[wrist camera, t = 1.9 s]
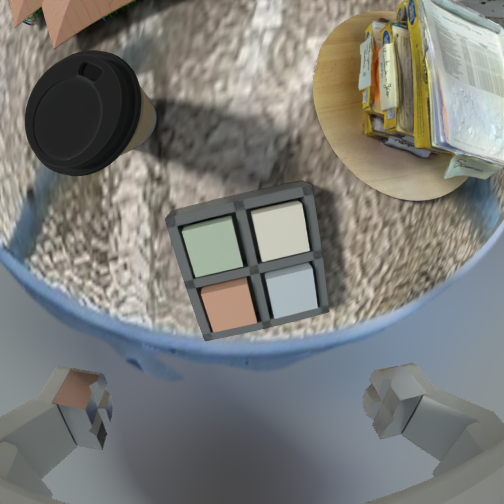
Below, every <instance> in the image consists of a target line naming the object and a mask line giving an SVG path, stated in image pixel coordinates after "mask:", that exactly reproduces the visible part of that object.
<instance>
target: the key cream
mask: <svg viewBox="0 0 504 504" xmlns="http://www.w3.org/2000/svg"><path fill="white" fill-rule="evenodd" d="M250 212H251V216H252V221H253V225H254V230H255V234H256V239H257V243H258V248H259V252H260V256H261V259H262V262H265V261H269V260H273V259H277V258H281V257H286V256H290V255H294V254H298V253H302V252H307V251H310V249H309V243H308V237H307V230H306V224H305V218H304V212H303V207H302V203H300V202H299V201H298V200H296V201H291V202H287V203H282V204H277V205H273V206H268V207H264V208H259V209H255V210H251V211H250Z"/></svg>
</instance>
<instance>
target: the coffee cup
mask: <svg viewBox="0 0 504 504" xmlns="http://www.w3.org/2000/svg"><path fill="white" fill-rule="evenodd" d="M156 119H157V116H156V111H155V109H154V107H153V106H152V104H151V102H150V99H149V98H148V96H147V95H146V94H145V92H144V91H143V90H142V88H141V87H140V85H139V82H138V79H137V77H136V75H135V73H134V71H133V70H132V68H131V67H130V66H129V65H128V64H127V63H126V62H125V61H124V60H123V59H121V58H120V57H118V56H116V55H114V54H111V53H108V52H103V51H97V50H88V51H82V52H78V53H75V54H72V55H70V56H68V57H66V58H64V59H62V60H61V61H59V62H58V63H56V64H55V65H53V66H52V67H51V68H49V69H48V70H47V71H46V72H45V73H44V74H43V75H42V77H41V78H40V79H39V80H38V82H37V83H36V85H35V87H34V88H33V90H32V92H31V95H30V97H29V100H28V103H27V107H26V113H25V130H26V135H27V139H28V142H29V144H30V146H31V148H32V150H33V151H34V153H35V154H36V156H37V157H38V159H39V160H40V161H41V162H42V163H43V164H44V165H45V166H46V167H48V168H49V169H51V170H53V171H55V172H57V173H60V174H64V175H70V176H83V175H89V174H92V173H95V172H97V171H100V170H101V169H103V168H105V167H107V166H108V165H110V164H111V163H112V162H113V161H114V160H116V159H117V158H118V157H119V156H120V155H122V154H124V153H127V152H129V151H130V150H132V149H134V148H135V147H137V146H139V145H141V144H143V143H144V142H145V141H146V140H147V139H148V138H149V137H150V136H151V134H152V132H153V130H154V128H155V125H156Z"/></svg>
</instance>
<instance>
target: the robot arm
mask: <svg viewBox="0 0 504 504" xmlns="http://www.w3.org/2000/svg"><path fill="white" fill-rule="evenodd" d="M453 1H456V2H458V3H462V4H463V5H464V6H466V7H469V8H470V9H472V10H474V11H476V12H478V13H480V14H481V15H483V16H485V17H494V18H504V0H453ZM369 380H370V382H371V385H370V386H369V387H368V388H367V389H366V390H365V393H364V395H363V407H364V411H365V413H366V415H367V416H368V417H370V418H372V419H373V420H374V421H373V427H374V429H375V431H376V433H377V434H378V436H379V438H380V439H384V438H388V437H392V436H396V435H400V434H402V436H403V437H405V438H407V439H408V440H409V441H411V442H412V443H414V444H415V445H417V446H418V447H420V448H421V449H423V450H424V451H426V452H427V453H428V454H430V455H432V456H433V457H435V458H436V459H438V460H439V461H441V462H440V463H439V464H438V466H437V467H436V468H435V470H434V471H433V475H434V477H433V478H431V479H429V480H427V481H424V482H422V483H419V484H417V485H414V486H412V487H410V488H407V489H405V490H402V491H399V492H396V493H393V494H390V495H387V496H384V497H381V498H378V499H375V500H372V501H369V502H365V503H362V504H504V423H503V422H502V421H501V420H500V419H499V417H498V416H497V415H496V414H495V413H494V412H492V411H490V410H488V409H485V408H483V407H480V406H478V405H476V404H473V403H471V402H468V401H466V400H464V399H462V398H459V397H457V396H455V395H452V394H450V393H447V392H445V391H443V390H440V391H438V390H437V389H436V387H435V386H434V385H433V384H432V382H431V381H430V380H429V379H428V378H427V377H426V375H425V374H424V373H423V372H422V371H421V370H420V368H419V367H418V366H417V365H416V364H414V363H409V364H404V365H400V366H395V367H389V368H383V369H378V370H374V371H373V373H372V374H371V377H370V379H369ZM106 385H107V381H106V378H105V375H104V374H102V373H97V372H92V371H86V370H80V369H75V368H73V369H72V368H68V367H63V366H58V367H56V368H55V369H54V371H53V373H52V375H51V376H50V378H49V380H48V381H47V383H46V385H45V387H44V388H43V390H42V392H41V394H40V396H39V397H38V399H37V400H35V399H33V400H31V401H29V402H27V403H25V404H23V405H21V406H20V407H18V408H16V409H14V410H12V411H11V412H9V413H7V414H5V415H3V416H1V417H0V504H68V503H65V502H61V501H58V500H55V499H52V495H53V494H52V492H51V491H50V489H49V488H48V487H47V486H46V485H45V483H44V482H43V481H42V480H41V479H42V478H43V477H44V476H45V475H46V474H48V473H49V472H50V471H51V470H52V469H53V468H54V467H55V466H56V465H58V464H59V463H60V462H61V461H62V460H63V459H64V458H65V457H67V455H69V454H70V453H71V452H72V451H73V450H74V449H75V448H77V446H82V447H87V448H93V449H99V450H103V447H104V443H105V440H106V436H107V432H106V429H105V426H107V425H108V424H109V423H110V422H111V418H112V409H113V406H112V399H111V395H110V393H109V392H107V391H106V390H105V388H106ZM76 445H77V446H76Z"/></svg>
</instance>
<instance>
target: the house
mask: <svg viewBox="0 0 504 504" xmlns="http://www.w3.org/2000/svg"><path fill="white" fill-rule="evenodd" d="M135 1H136V0H135ZM135 1H134V0H10V4H11V10H12V16H13V21H14V26H15V28H16V27H17V26H18V25H19V24H21V23H22V22H24V23H26V24H28V25H30V24H29V23H27V22H29V21H28V20H29V19H31V18H29V16H30V15H32V14H34V12H36V11H37V10H38V9H39V8H41V7H42V9H43V12H41V11H40V10H38V12H39V11H40V12H41V13H43V14H44V17H45V20H46V24H47V28H48V31H49V34H50V38H51V41H52V44H53V47H54V49H56V48H57V47H58V46H60V45H61V44H62V43H64V42H65V41H67V40H68V39H70V38H71V37H73V36H74V35H76V34H77V33H79V32H80V31H82V30H83V29H85V28H86V27H88V26H90V25H91V24H93V23H94V22H96V21H98V20H99V19H101V18H102V19H103V20H104V21H105V22H107V21H106V20H105V19H104V18H105V17H106V16H108V15H110V14H112V13H113V11H114V12H116V11H117V10H118V9H120V8H122V9H123V7H125V6H126V5H128V4H130V3H132V2H135ZM142 1H143V0H142ZM135 3H136V2H135ZM143 3H144V2H143ZM136 5H137V4H136ZM129 7H130V6H129ZM130 8H131V7H130ZM42 9H41V10H42ZM123 10H124V9H123ZM38 12H37V13H38ZM124 12H125V11H124ZM116 13H117V12H116ZM35 14H36V13H35ZM35 14H34V15H35ZM117 14H118V13H117ZM34 15H33V16H34ZM118 15H119V14H118ZM33 16H32V17H33ZM36 16H37V15H36ZM110 16H111V15H110ZM37 17H39V16H37ZM111 17H112V16H111ZM27 18H29V19H28V20H26V19H27ZM112 18H113V17H112ZM32 20H33V19H32ZM26 21H27V22H26ZM33 21H35V20H33Z"/></svg>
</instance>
